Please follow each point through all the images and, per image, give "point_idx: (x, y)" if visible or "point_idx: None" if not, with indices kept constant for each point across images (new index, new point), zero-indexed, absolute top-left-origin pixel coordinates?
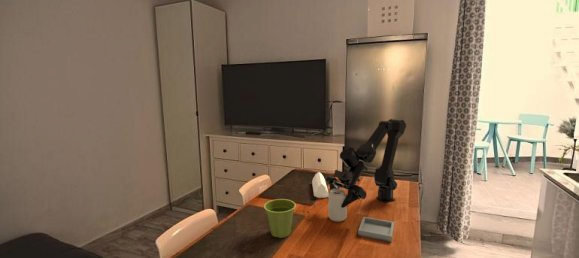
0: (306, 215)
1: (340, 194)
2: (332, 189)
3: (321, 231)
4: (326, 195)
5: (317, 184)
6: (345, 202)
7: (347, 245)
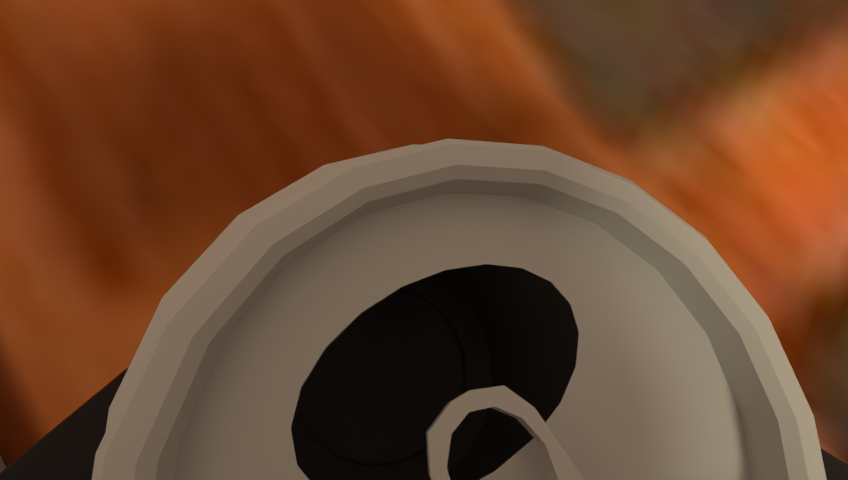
0: (606, 162)
1: (153, 347)
2: (803, 449)
3: (283, 51)
4: None
5: None
6: (80, 415)
7: None
